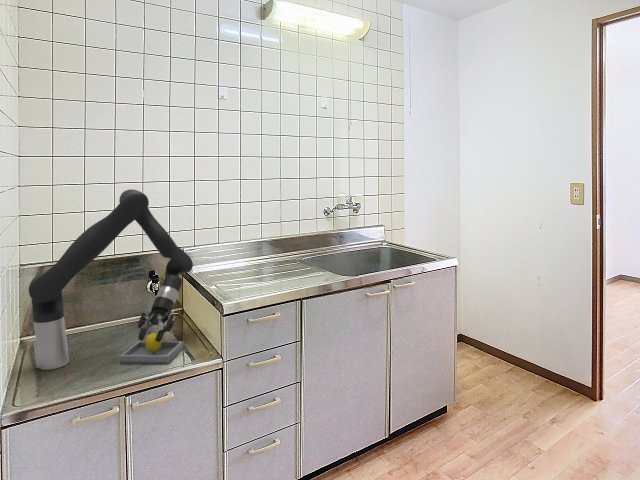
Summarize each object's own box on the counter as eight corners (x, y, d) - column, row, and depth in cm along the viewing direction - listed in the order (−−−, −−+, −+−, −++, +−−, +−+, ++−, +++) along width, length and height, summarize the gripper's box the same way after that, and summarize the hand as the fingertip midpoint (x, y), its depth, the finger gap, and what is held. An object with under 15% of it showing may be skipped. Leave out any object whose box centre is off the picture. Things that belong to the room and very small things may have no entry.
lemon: (156, 357, 155) (155, 336, 154) (142, 355, 156) (142, 334, 155) (164, 351, 160) (164, 331, 159) (151, 349, 161) (151, 329, 160)
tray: (119, 364, 152) (119, 356, 151) (139, 348, 166) (138, 341, 165) (168, 364, 150) (167, 356, 150) (183, 348, 164) (183, 341, 164)
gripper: (144, 294, 164) (126, 334, 154) (177, 296, 160) (161, 337, 151) (154, 304, 170) (137, 343, 160) (186, 305, 166) (170, 346, 157)
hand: (148, 340), depth 155 cm, fingers open, 6 cm apart
